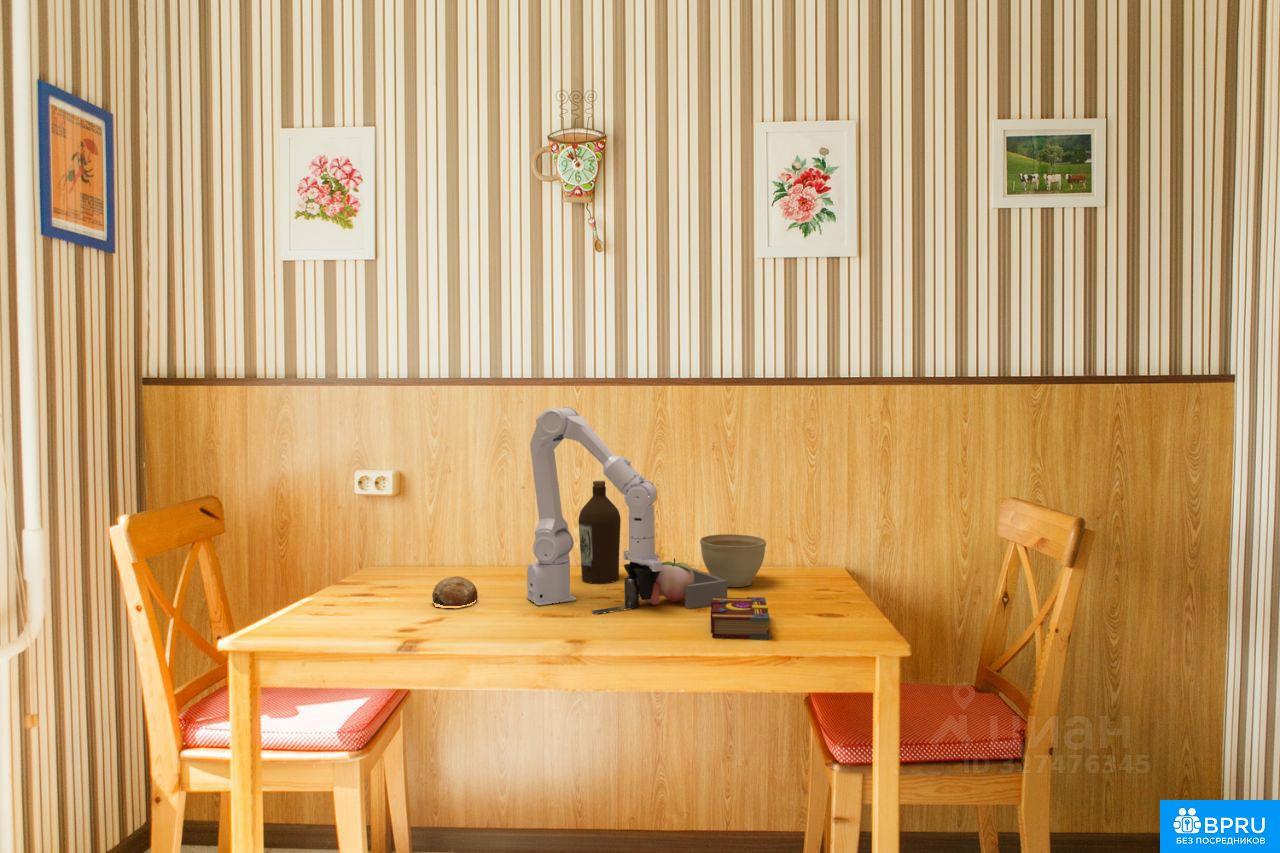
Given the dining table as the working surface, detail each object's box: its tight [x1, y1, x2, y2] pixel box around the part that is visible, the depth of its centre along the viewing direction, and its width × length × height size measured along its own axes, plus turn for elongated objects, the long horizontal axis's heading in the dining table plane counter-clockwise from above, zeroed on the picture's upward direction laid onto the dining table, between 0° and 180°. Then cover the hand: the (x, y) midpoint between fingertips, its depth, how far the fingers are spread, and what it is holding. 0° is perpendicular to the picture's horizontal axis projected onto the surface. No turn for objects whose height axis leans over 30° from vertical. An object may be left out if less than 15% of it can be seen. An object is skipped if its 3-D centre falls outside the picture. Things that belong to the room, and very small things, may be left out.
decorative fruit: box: [655, 557, 694, 603], centre depth 175 cm, size 9×8×10 cm
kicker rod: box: [623, 576, 661, 608], centre depth 172 cm, size 8×4×6 cm, turn 118°
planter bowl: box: [699, 533, 767, 588], centre depth 192 cm, size 16×16×11 cm
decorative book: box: [710, 596, 771, 640], centre depth 157 cm, size 11×16×5 cm
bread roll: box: [431, 575, 479, 606], centre depth 176 cm, size 10×10×8 cm
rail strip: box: [591, 605, 633, 615], centre depth 169 cm, size 9×2×1 cm, turn 118°
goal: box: [660, 567, 728, 610], centre depth 178 cm, size 10×14×5 cm
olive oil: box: [578, 480, 622, 584], centre depth 196 cm, size 11×11×25 cm
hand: (642, 597), depth 172 cm, fingers closed on kicker rod, 3 cm apart
